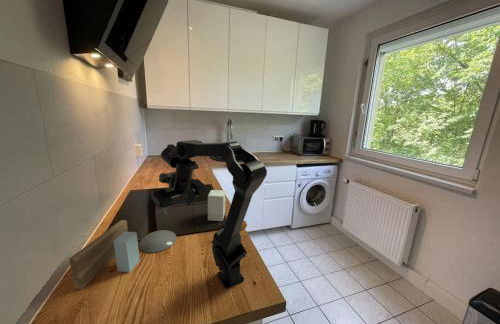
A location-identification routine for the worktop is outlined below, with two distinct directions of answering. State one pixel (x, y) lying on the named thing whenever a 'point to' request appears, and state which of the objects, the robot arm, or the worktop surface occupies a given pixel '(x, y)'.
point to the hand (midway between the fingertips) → (177, 209)
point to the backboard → (95, 255)
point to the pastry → (243, 225)
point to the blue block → (126, 251)
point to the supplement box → (216, 205)
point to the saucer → (157, 241)
